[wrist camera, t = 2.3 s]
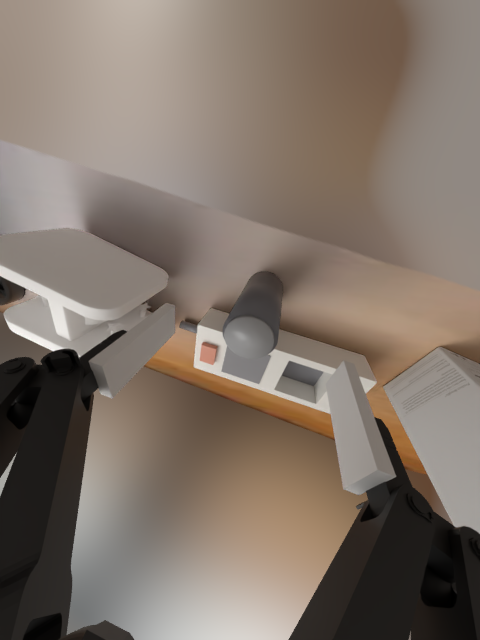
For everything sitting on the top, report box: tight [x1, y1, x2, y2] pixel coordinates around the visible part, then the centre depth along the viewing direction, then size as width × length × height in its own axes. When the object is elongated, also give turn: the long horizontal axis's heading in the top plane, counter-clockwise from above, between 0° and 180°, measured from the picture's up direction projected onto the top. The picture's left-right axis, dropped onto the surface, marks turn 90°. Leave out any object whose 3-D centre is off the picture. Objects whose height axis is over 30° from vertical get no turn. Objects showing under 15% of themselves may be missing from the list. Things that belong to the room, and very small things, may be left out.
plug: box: [222, 272, 283, 359], centre depth 19 cm, size 5×5×10 cm
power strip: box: [180, 308, 377, 414], centre depth 26 cm, size 26×8×5 cm, turn 78°
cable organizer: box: [0, 228, 169, 357], centre depth 23 cm, size 15×11×12 cm
